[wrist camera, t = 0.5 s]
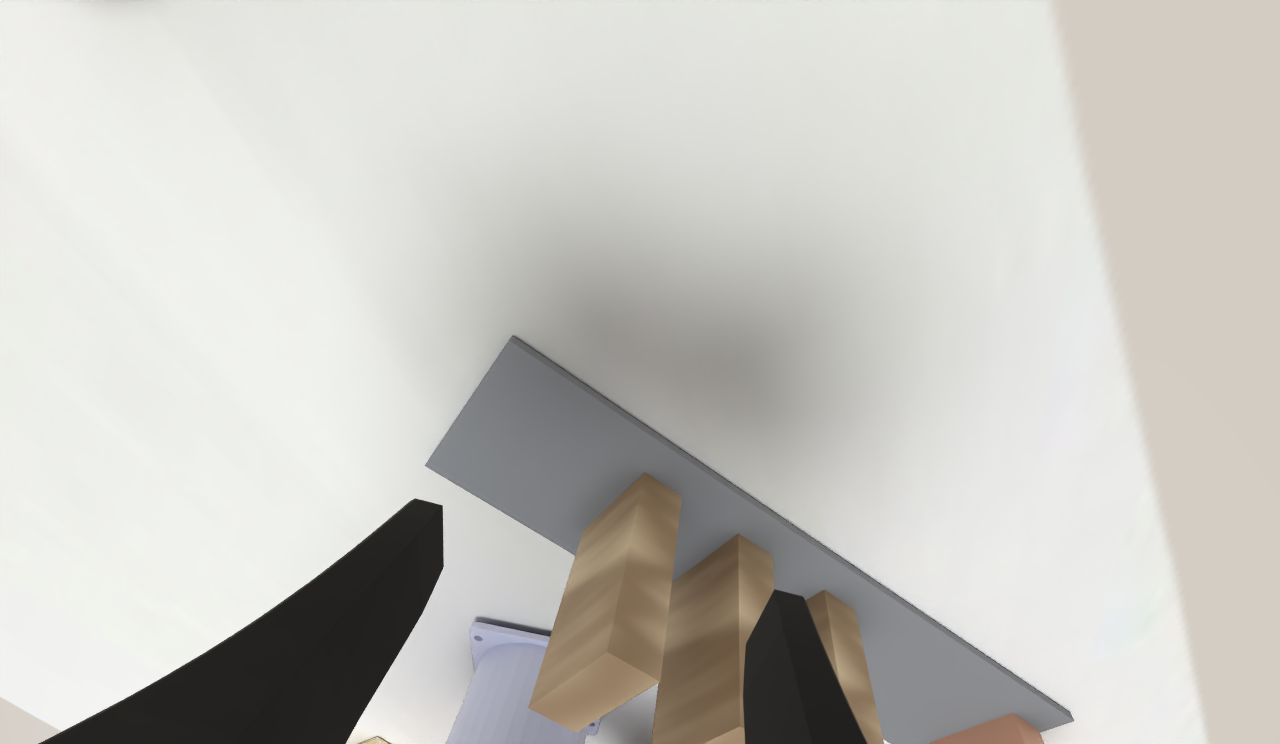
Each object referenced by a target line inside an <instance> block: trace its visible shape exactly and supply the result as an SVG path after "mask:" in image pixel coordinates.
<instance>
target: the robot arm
mask: <svg viewBox="0 0 1280 744" xmlns="http://www.w3.org/2000/svg"><path fill="white" fill-rule="evenodd" d="M443 567H444V563H443V506H442V505H438V504H434V503H431V502H427V501H423V500H419V499H414V500H412V501H410V502H409V503H408V504H406V505H405V506H404V507H403V508H402V509H400V510H399V511H398V512H397V513H396V514H395V515H393V516H392V517H391V518H390V519H389V520H388V521H386V522H385V523H384V524H383V525H382V526H380V527H379V528H378V529H377V530H376V531H374V532H373V533H372V534H371V535H369V536H368V537H367V538H366V539H364V540H363V541H362V542H361V543H360V544H358V545H357V546H356V547H355V548H353V549H352V550H351V551H350V552H348V553H347V554H346V555H344V556H343V557H342V558H340V559H339V560H338V561H337V562H335V563H334V564H333V565H331V566H330V567H329V568H328V569H326V570H325V571H324V572H322V573H321V574H320V575H318V576H317V577H316V578H314V579H313V580H312V581H310V582H309V583H308V584H306V585H305V586H303V587H302V588H301V589H299V590H298V591H296V592H295V593H294V594H292V595H291V596H289V597H288V598H287V599H285V600H284V601H282V602H281V603H280V604H278V605H277V606H275V607H274V608H273V609H271V610H270V611H268V612H267V613H265V614H264V615H263V616H261V617H260V618H258V619H257V620H255V621H254V622H252V623H251V624H249V625H248V626H246V627H245V628H243V629H241V630H240V631H238V632H237V633H235V634H234V635H232V636H231V637H229V638H227V639H226V640H224V641H223V642H221V643H220V644H218V645H216V646H215V647H213V648H212V649H210V650H208V651H207V652H205V653H204V654H202V655H200V656H199V657H197V658H195V659H193V660H192V661H190V662H188V663H187V664H185V665H183V666H182V667H180V668H178V669H176V670H175V671H173V672H171V673H170V674H168V675H166V676H165V677H163V678H161V679H159V680H158V681H156V682H154V683H153V684H151V685H149V686H147V687H145V688H144V689H142V690H140V691H138V692H136V693H135V694H133V695H131V696H129V697H127V698H126V699H124V700H122V701H120V702H118V703H116V704H114V705H112V706H110V707H109V708H107V709H105V710H103V711H101V712H99V713H97V714H95V715H93V716H91V717H89V718H87V719H85V720H84V721H82V722H80V723H78V724H76V725H74V726H72V727H70V728H68V729H66V730H64V731H62V732H61V733H59V734H57V735H55V736H53V737H51V738H49V739H47V740H45V741H43V742H41V743H39V744H346V742H347V740H348V738H349V736H350V735H351V733H352V731H353V729H354V727H355V726H356V724H357V722H358V720H359V718H360V717H361V715H362V713H363V712H364V710H365V708H366V707H367V705H368V703H369V702H370V700H371V698H372V697H373V695H374V693H375V692H376V690H377V688H378V687H379V685H380V683H381V682H382V680H383V678H384V677H385V675H386V673H387V672H388V670H389V668H390V667H391V665H392V663H393V662H394V660H395V658H396V657H397V655H398V653H399V652H400V650H401V648H402V647H403V645H404V643H405V642H406V640H407V638H408V637H409V635H410V633H411V632H412V630H413V628H414V627H415V625H416V623H417V621H418V620H419V618H420V616H421V615H422V613H423V611H424V608H425V606H426V604H427V602H428V600H429V598H430V596H431V594H432V591H433V589H434V587H435V585H436V583H437V580H438V578H439V576H440V574H441V571H442V569H443ZM470 638H471V646H472V655H473V663H474V671H475V674H474V676H473V679H472V681H471V683H470V686H469V688H468V691H467V693H466V695H465V698H464V700H463V703H462V705H461V708H460V710H459V712H458V715H457V717H456V720H455V722H454V724H453V727H452V729H451V732H450V734H449V737H448V739H447V741H446V744H584V743H585V739H586V734H587V735H596V734H597V733H598V729H599V721H600V718H599V719H598V720H596V721H594V722H593V723H591V724H589V725H588V726H586V727H584V728H583V729H581V730H579V731H578V732H576V733H575V732H574V731H572V730H570V729H568V728H566V727H564V726H562V725H560V724H558V723H556V722H554V721H552V720H550V719H548V718H546V717H544V716H543V715H541V714H539V713H537V712H535V711H533V710H531V709H529V708H528V706H529V703H530V700H531V697H532V694H533V690H534V687H535V684H536V681H537V678H538V674H539V671H540V668H541V665H542V662H543V658H544V655H545V652H546V649H547V646H548V642H549V639H550V637H549V636H544V635H539V634H534V633H529V632H524V631H520V630H515V629H510V628H505V627H500V626H495V625H490V624H486V623H481V622H475V623H473V624H472V626H471V628H470ZM743 710H744V731H745V744H868V743H867V741H866V739H865V737H864V735H863V733H862V731H861V728H860V726H859V724H858V722H857V720H856V718H855V716H854V713H853V711H852V709H851V707H850V705H849V703H848V700H847V698H846V696H845V694H844V692H843V690H842V687H841V685H840V683H839V681H838V678H837V676H836V674H835V671H834V669H833V667H832V664H831V662H830V660H829V657H828V655H827V652H826V650H825V648H824V645H823V643H822V640H821V638H820V635H819V633H818V630H817V628H816V625H815V623H814V620H813V618H812V615H811V613H810V610H809V607H808V605H807V602H806V600H805V599H804V597H803V596H800V595H796V594H792V593H788V592H784V591H780V590H776V589H774V591H773V593H772V595H771V597H770V598H769V600H768V602H767V604H766V606H765V608H764V610H763V612H762V614H761V616H760V618H759V620H758V622H757V623H756V625H755V627H754V629H753V631H752V633H751V635H750V637H749V639H748V641H747V643H746V648H745V664H744V683H743Z"/></svg>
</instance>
